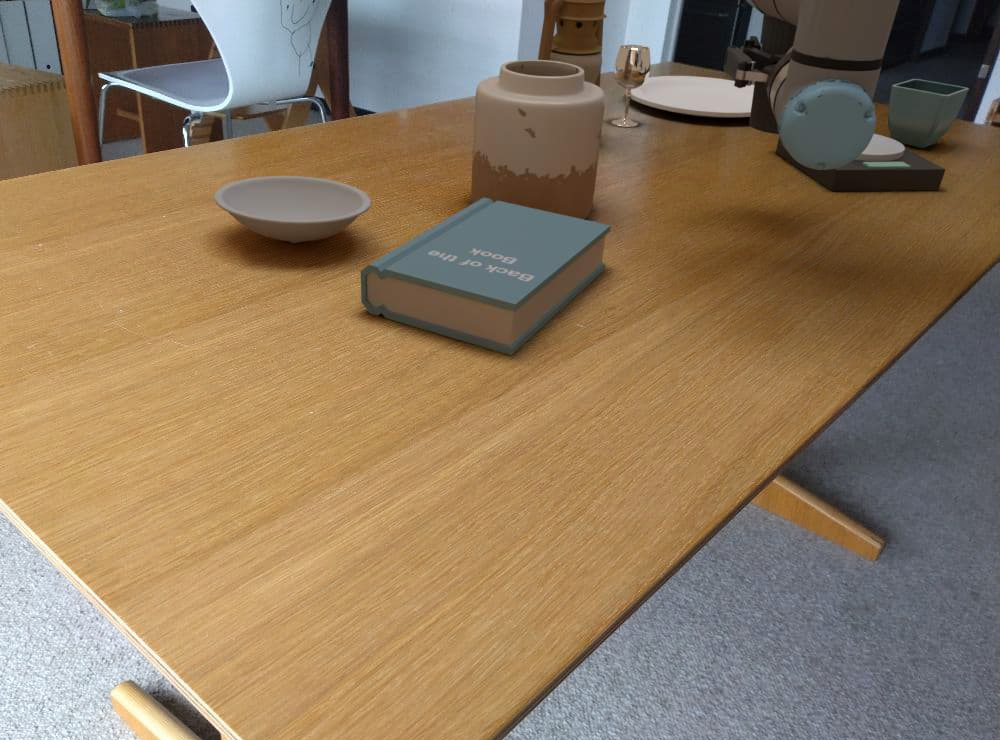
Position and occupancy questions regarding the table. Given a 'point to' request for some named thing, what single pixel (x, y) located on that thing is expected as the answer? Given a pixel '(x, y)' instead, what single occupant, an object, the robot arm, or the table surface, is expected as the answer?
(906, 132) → the flower pot
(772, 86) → the robot arm
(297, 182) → the dish
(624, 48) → the wineglass
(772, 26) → the coffee cup
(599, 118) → the vase
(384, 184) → the table surface
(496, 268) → the book
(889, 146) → the scale
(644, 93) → the plate
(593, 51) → the lantern
